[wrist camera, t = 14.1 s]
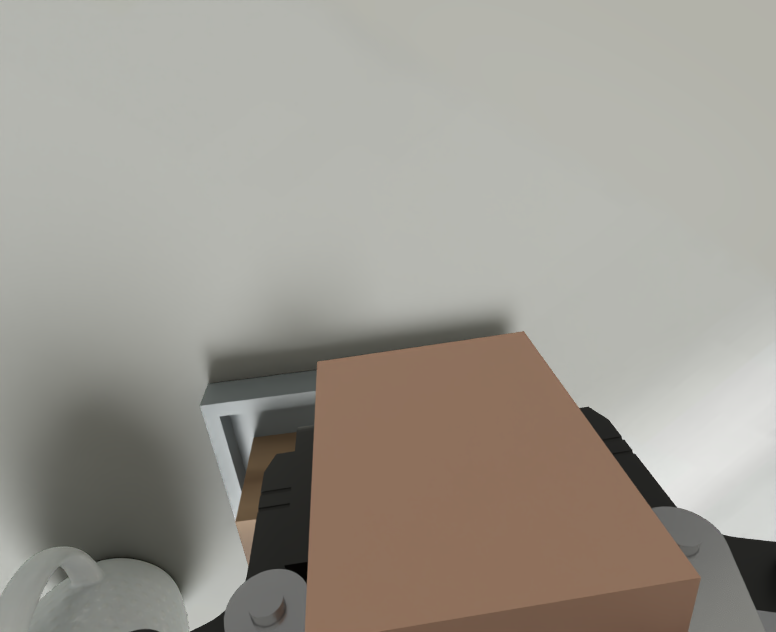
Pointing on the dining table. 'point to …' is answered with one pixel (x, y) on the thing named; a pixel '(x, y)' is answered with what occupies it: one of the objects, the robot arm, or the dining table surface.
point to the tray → (254, 419)
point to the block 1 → (258, 482)
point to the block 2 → (477, 503)
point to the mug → (91, 596)
